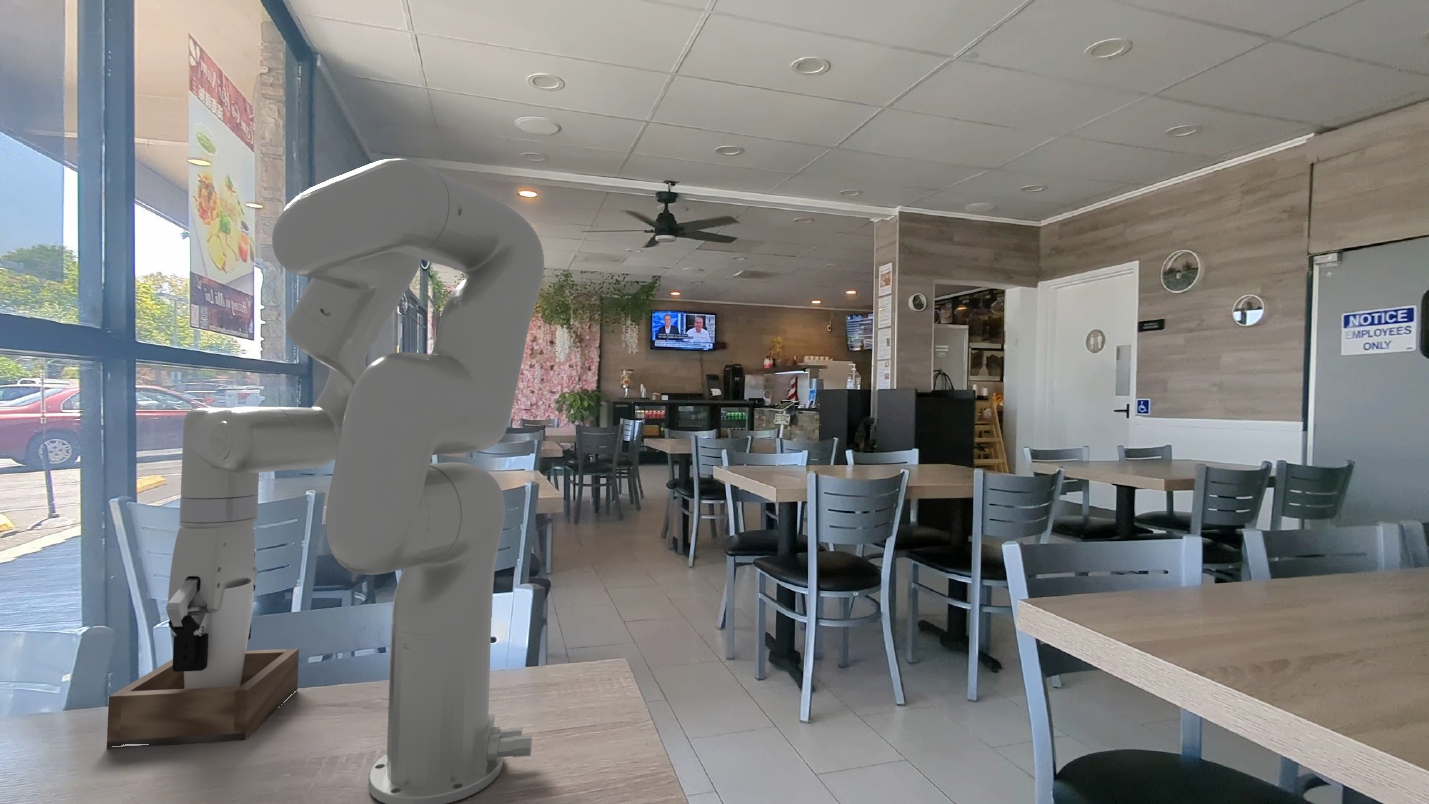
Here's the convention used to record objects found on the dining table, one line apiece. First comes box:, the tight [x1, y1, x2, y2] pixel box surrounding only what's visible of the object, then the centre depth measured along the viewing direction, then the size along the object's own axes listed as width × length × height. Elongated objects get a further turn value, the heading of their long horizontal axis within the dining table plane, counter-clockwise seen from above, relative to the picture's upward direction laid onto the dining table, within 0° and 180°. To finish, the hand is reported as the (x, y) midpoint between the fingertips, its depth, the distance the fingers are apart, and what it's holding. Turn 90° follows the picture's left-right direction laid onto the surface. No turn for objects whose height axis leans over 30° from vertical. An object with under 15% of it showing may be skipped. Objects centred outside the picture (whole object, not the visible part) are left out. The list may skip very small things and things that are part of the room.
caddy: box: [106, 648, 300, 749], centre depth 80 cm, size 13×13×6 cm
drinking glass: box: [184, 578, 255, 689], centre depth 80 cm, size 7×7×15 cm
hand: (214, 654), depth 80 cm, fingers open, 9 cm apart
